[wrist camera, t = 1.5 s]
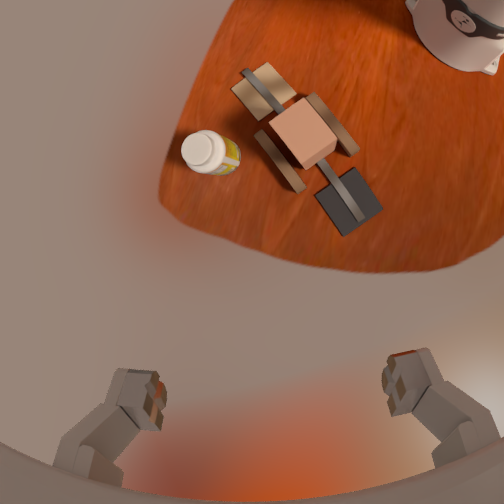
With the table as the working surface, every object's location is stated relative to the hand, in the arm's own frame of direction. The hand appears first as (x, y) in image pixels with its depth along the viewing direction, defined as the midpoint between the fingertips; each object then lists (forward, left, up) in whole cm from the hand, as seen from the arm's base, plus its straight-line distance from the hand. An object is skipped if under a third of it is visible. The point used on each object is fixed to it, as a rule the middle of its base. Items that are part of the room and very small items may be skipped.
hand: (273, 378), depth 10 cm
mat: (-12, -19, -34) cm, 41 cm away
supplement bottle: (-1, -17, -34) cm, 39 cm away
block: (-10, -9, -34) cm, 37 cm away
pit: (-7, +1, -34) cm, 35 cm away
